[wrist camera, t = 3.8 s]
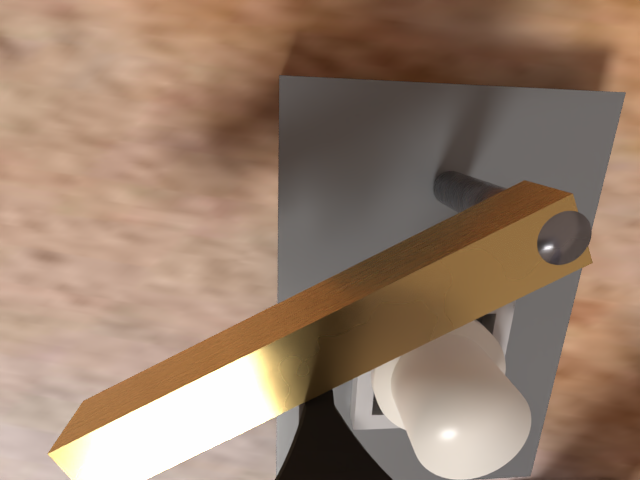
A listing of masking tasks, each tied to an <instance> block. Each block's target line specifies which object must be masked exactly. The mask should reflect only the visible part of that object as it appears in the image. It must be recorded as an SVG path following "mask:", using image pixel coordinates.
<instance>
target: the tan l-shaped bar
mask: <svg viewBox="0 0 640 480" xmlns="http://www.w3.org/2000/svg"><path fill="white" fill-rule="evenodd" d="M433 192H434V196H435V198H436V199H437V200H438V201H439V202H440V203H442V204H444V205H446V206H447V207H449V208H451V209H453V210H454V211H456V212H458V214H456V215H454V216H452V217H450V218H448V219H446V220H444V221H442V222H440V223H438V224H436V225H434V226H432V227H430V228H428V229H426V230H424V231H422V232H420V233H418V234H416V235H414V236H412V237H410V238H408V239H406V240H404V241H402V242H400V243H398V244H396V245H394V246H392V247H390V248H388V249H386V250H384V251H382V252H380V253H378V254H376V255H374V256H372V257H370V258H368V259H366V260H364V261H362V262H360V263H358V264H356V265H354V266H352V267H350V268H348V269H346V270H344V271H342V272H340V273H338V274H336V275H334V276H332V277H330V278H328V279H326V280H324V281H322V282H320V283H318V284H316V285H314V286H312V287H310V288H308V289H306V290H304V291H302V292H300V293H298V294H296V295H294V296H292V297H290V298H288V299H286V300H284V301H282V302H280V303H278V304H276V305H274V306H272V307H270V308H268V309H266V310H264V311H262V312H260V313H258V314H256V315H254V316H252V317H250V318H248V319H246V320H244V321H242V322H240V323H238V324H236V325H234V326H232V327H230V328H228V329H226V330H224V331H222V332H220V333H218V334H216V335H214V336H212V337H210V338H208V339H206V340H204V341H202V342H200V343H198V344H196V345H194V346H192V347H190V348H188V349H186V350H184V351H182V352H180V353H178V354H176V355H174V356H172V357H170V358H168V359H166V360H164V361H162V362H160V363H158V364H156V365H154V366H152V367H150V368H148V369H146V370H144V371H142V372H140V373H138V374H136V375H134V376H132V377H130V378H128V379H126V380H124V381H122V382H120V383H118V384H116V385H114V386H112V387H110V388H108V389H106V390H104V391H102V392H100V393H98V394H96V395H94V396H92V397H90V398H88V399H86V400H84V401H83V402H82V404H81V405H80V407H79V408H78V410H77V411H76V413H75V414H74V416H73V417H72V419H71V420H70V421H69V423H68V424H67V426H66V427H65V429H64V430H63V432H62V433H61V435H60V436H59V438H58V439H57V441H56V442H55V444H54V445H53V447H52V448H51V450H50V451H49V453H48V455H49V456H50V457H51V458H52V459H53V460H54V461H55V462H56V463H57V464H58V465H59V466H60V468H61V469H62V470H63V471H64V472H65V473H66V474H67V475H68V476H69V477H70V478H71V479H72V480H146V479H148V478H150V477H152V476H154V475H156V474H158V473H160V472H162V471H164V470H166V469H168V468H170V467H172V466H174V465H176V464H179V463H181V462H183V461H185V460H187V459H189V458H191V457H193V456H195V455H197V454H199V453H201V452H203V451H205V450H207V449H209V448H212V447H214V446H216V445H218V444H220V443H222V442H224V441H226V440H228V439H230V438H232V437H234V436H236V435H238V434H240V433H243V432H245V431H247V430H249V429H251V428H253V427H255V426H257V425H259V424H261V423H263V422H265V421H267V420H269V419H271V418H273V417H276V416H278V415H280V414H282V413H284V412H286V411H288V410H290V409H292V408H294V407H296V406H298V405H300V404H302V403H304V402H306V401H309V400H311V399H313V398H315V397H317V396H319V395H321V394H323V393H325V392H327V391H329V390H331V389H333V388H335V387H337V386H339V385H342V384H344V383H346V382H348V381H350V380H352V379H354V378H356V377H358V376H360V375H362V374H364V373H366V372H368V371H370V370H372V369H375V368H377V367H379V366H381V365H383V364H385V363H387V362H389V361H391V360H393V359H395V358H397V357H399V356H401V355H403V354H406V353H408V352H410V351H412V350H414V349H416V348H418V347H420V346H422V345H424V344H426V343H428V342H430V341H432V340H434V339H436V338H439V337H441V336H443V335H445V334H447V333H449V332H451V331H453V330H455V329H457V328H459V327H461V326H463V325H465V324H467V323H469V322H472V321H474V320H476V319H478V318H480V317H482V316H484V315H486V314H488V313H490V312H492V311H494V310H496V309H498V308H500V307H502V306H505V305H507V304H509V303H511V302H513V301H515V300H517V299H519V298H521V297H523V296H525V295H527V294H529V293H531V292H533V291H535V290H538V289H540V288H542V287H544V286H546V285H548V284H550V283H552V282H554V281H556V280H558V279H560V278H562V277H564V276H566V275H568V274H571V273H573V272H575V271H577V270H579V269H581V268H583V267H585V266H587V265H589V264H591V263H593V262H592V259H591V255H590V252H589V248H588V245H589V242H590V239H591V225H590V222H589V221H588V219H587V218H586V217H585V216H584V215H583V214H581V213H579V212H578V210H577V206H576V202H575V199H574V195H573V193H569V192H565V191H562V190H558V189H555V188H551V187H547V186H544V185H540V184H536V183H533V182H529V181H526V180H524V181H522V182H520V183H518V184H516V185H514V186H512V187H510V188H508V189H507V188H504V187H501V186H498V185H495V184H492V183H489V182H486V181H483V180H480V179H477V178H474V177H471V176H468V175H465V174H462V173H459V172H456V171H447V172H444V173H443V174H441V175H440V176H439V177H438V178H437V179H436V181H435V183H434V187H433Z"/></svg>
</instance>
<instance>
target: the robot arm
mask: <svg viewBox="0 0 640 480" xmlns="http://www.w3.org/2000/svg"><path fill="white" fill-rule="evenodd" d="M275 480H393V479H392V478H391V477H390V476H389V475H388V474H387V473H386V472H385V471H384V470H383V469H382V468H381V467H380V466H379V465H378V463H377V462H376V461H375V460H374V459H373V458H372V457H371V455H370V454H369V453H368V452H367V451H366V449H365V448H364V447H363V446H362V444H361V443H360V442H359V440H358V439H357V438H356V436H355V435H354V434H353V432H352V431H351V430H350V428H349V427H348V425H347V424H346V422H345V421H344V419H343V418H342V416H341V415H340V413H339V411H338V410H337V408H336V407H335V405H334V396H333V390H332V389H331V390H329V391H327V392H325V393H323V394H321V395H319V396H317V397H315V398H313V399H311V400H309V401H306V402H304V403H302V404H300V405H299V425H298V428H297V431H296V433H295V436H294V439H293V441H292V444H291V447H290V449H289V452H288V454H287V456H286V458H285V461H284V463H283V465H282V467H281V469H280V471H279V473H278V475H277V477H276V479H275Z"/></svg>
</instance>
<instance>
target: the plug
mask: <svg viewBox="0 0 640 480" xmlns="http://www.w3.org/2000/svg"><path fill="white" fill-rule="evenodd" d="M505 372H506V363H505V357H504V353H503V350H502V348H501V346H500V344H499V342H498V341H497V340H496V339H495V337H494V336H493V335H492V334H491V333H490V332H489V331H488V330H487V329H486V328H485V327H484V326H483V325H482V324H481V323H480V322H479V321H477V320H474V321H472V322H469V323H467V324H465V325H463V326H461V327H459V328H457V329H455V330H453V331H451V332H449V333H447V334H445V335H443V336H441V337H439V338H436V339H434V340H432V341H430V342H428V343H426V344H424V345H422V346H420V347H418V348H416V349H414V350H412V351H410V352H408V353H406V354H403V355H401V356H399V357H397V358H395V359H393V360H391V361H389V362H387V363H385V364H383V365H381V366H379V367H377V368H375V369H372V370H371V375H370V378H371V385H372V388H373V391H374V394H375V397H376V400H377V403H378V405H379V407H380V409H381V411H382V412H383V414H384V415H385V416H386V417H387V418H388V419H389V420H390V421H391V422H392V423H394V424H395V425H397V426H398V427H400V428H402V429H404V430H406V432H407V434H408V437H409V439H410V442H411V444H412V447H413V449H414V452H415V454H416V456H417V458H418V460H419V461H420V463H421V464H422V465H423V466H424V467H425V468H426V469H427V470H429V471H430V472H432V473H434V474H435V475H438V476H440V477H443V478H448V479H455V480H465V479H473V478H478V477H481V476H484V475H487V474H489V473H492V472H494V471H496V470H498V469H499V468H501V467H502V466H504V465H505V464H507V463H508V462H509V461H510V460H512V459H513V458H514V457H515V456H516V455H517V453H518V452H519V451H520V450H521V448H522V447H523V445H524V444H525V442H526V440H527V438H528V435H529V432H530V428H531V411H530V408H529V405H528V403H527V401H526V399H525V398H524V397H523V395H522V394H521V393H520V392H519V391H518V390H517V388H516V387H515V386H514V385H513V384H512V383H511V381H510V380H509V379H508V378H507V377H506V376H505Z"/></svg>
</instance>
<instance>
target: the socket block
mask: <svg viewBox="0 0 640 480" xmlns="http://www.w3.org/2000/svg"><path fill="white" fill-rule="evenodd" d="M624 97H625V92H605V91H585V90H565V89H545V88H525V87H504V86H484V85H464V84H444V83H424V82H404V81H384V80H364V79H344V78H324V77H303V76H283V75H279V184H278V303H280V302H282V301H284V300H286V299H288V298H290V297H292V296H294V295H296V294H298V293H300V292H302V291H304V290H306V289H308V288H310V287H312V286H314V285H316V284H318V283H320V282H322V281H324V280H326V279H328V278H330V277H332V276H334V275H336V274H338V273H340V272H342V271H344V270H346V269H348V268H350V267H352V266H354V265H356V264H358V263H360V262H362V261H364V260H366V259H368V258H370V257H372V256H374V255H376V254H378V253H380V252H382V251H384V250H386V249H388V248H390V247H392V246H394V245H396V244H398V243H400V242H402V241H404V240H406V239H408V238H410V237H412V236H414V235H416V234H418V233H420V232H422V231H424V230H426V229H428V228H430V227H432V226H434V225H436V224H438V223H440V222H442V221H444V220H446V219H448V218H450V217H452V216H454V215H456V214H458V212H456V211H454V210H453V209H451V208H449V207H447V206H446V205H444V204H442V203H440V202H439V201H438V200H437V199H436V198H435V196H434V192H433V187H434V183H435V181H436V179H437V178H438V177H439V176H440V175H441V174H443V173H444V172H447V171H456V172H459V173H462V174H465V175H468V176H471V177H474V178H477V179H480V180H483V181H486V182H489V183H492V184H495V185H498V186H501V187H504V188H507V189H508V188H510V187H512V186H514V185H516V184H518V183H520V182H522V181H524V180H526V181H529V182H533V183H536V184H540V185H544V186H547V187H551V188H555V189H558V190H562V191H565V192H569V193H573V195H574V199H575V202H576V206H577V210H578V212H579V213H581V214H583V215H584V216H585V217H586V218H587V219H588V221H589V222H590V225H591V230H592V226H593V222H594V218H595V214H596V210H597V206H598V202H599V198H600V194H601V190H602V186H603V182H604V178H605V174H606V170H607V166H608V162H609V158H610V154H611V150H612V146H613V142H614V138H615V134H616V130H617V126H618V122H619V118H620V114H621V110H622V106H623V102H624ZM581 271H582V268H581V269H579V270H577V271H575V272H573V273H571V274H568V275H566V276H564V277H562V278H560V279H558V280H556V281H554V282H552V283H550V284H548V285H546V286H544V287H542V288H540V289H538V290H535V291H533V292H531V293H529V294H527V295H525V296H523V297H521V298H519V299H517V300H515V301H513V302H511V303H509V304H507V305H505V306H502V307H500V308H498V309H496V310H494V311H492V312H490V313H488V314H486V315H484V316H482V317H480V318H478V319H476V320H477V321H479V322H480V323H481V324H482V325H483V326H484V327H485V328H486V329H487V330H488V331H489V332H490V333H491V334H492V335H493V336H494V337H495V339H496V340H497V341H498V342H499V344H500V346H501V348H502V350H503V353H504V357H505V363H506V372H505V376H506V377H507V378H508V379H509V380H510V381H511V383H512V384H513V385H514V386H515V387H516V388H517V390H518V391H519V392H520V393H521V394H522V395H523V397H524V398H525V399H526V401H527V403H528V405H529V408H530V411H531V428H530V432H529V435H528V438H527V440H526V442H525V444H524V445H523V447H522V448H521V450H520V451H519V452H518V453H517V455H516V456H515V457H514V458H513V459H512V460H510V461H509V462H508V463H507V464H505V465H504V466H502V467H501V468H499V469H498V470H496V471H494V472H492V473H489V474H487V475H484V476H481V477H478V478H473V479H465V480H475V479H492V478H510V477H527V476H531V472H532V468H533V464H534V460H535V456H536V452H537V448H538V444H539V440H540V436H541V432H542V428H543V424H544V420H545V416H546V412H547V408H548V404H549V400H550V396H551V392H552V387H553V383H554V379H555V375H556V371H557V367H558V363H559V359H560V355H561V351H562V347H563V343H564V339H565V335H566V331H567V327H568V323H569V319H570V315H571V311H572V307H573V303H574V299H575V295H576V291H577V287H578V283H579V279H580V275H581ZM370 375H371V370H370V371H368V372H366V373H364V374H362V375H360V376H358V377H356V378H354V379H352V380H350V381H348V382H346V383H344V384H342V385H339V386H337V387H335V388H333V389H332V390H333V396H334V405H335V407H336V408H337V410H338V411H339V413H340V415H341V416H342V418H343V419H344V421H345V422H346V424H347V425H348V427H349V428H350V430H351V431H352V432H353V434H354V435H355V436H356V438H357V439H358V440H359V442H360V443H361V444H362V446H363V447H364V448H365V449H366V451H367V452H368V453H369V454H370V455H371V457H372V458H373V459H374V460H375V461H376V462H377V463H378V465H379V466H380V467H381V468H382V469H383V470H384V471H385V472H386V473H387V474H388V475H389V476H390V477H391V478H392V479H393V480H455V479H448V478H443V477H440V476H438V475H435V474H434V473H432V472H430V471H429V470H427V469H426V468H425V467H424V466H423V465H422V464H421V463H420V461H419V460H418V458H417V456H416V454H415V452H414V449H413V447H412V444H411V442H410V439H409V437H408V434H407V432H406V430H404V429H402V428H400V427H398V426H397V425H395V424H394V423H392V422H391V421H390V420H389V419H388V418H387V417H386V416H385V415H384V414H383V412H382V411H381V409H380V407H379V405H378V403H377V400H376V397H375V394H374V391H373V388H372V385H371V378H370ZM298 425H299V405H298V406H296V407H294V408H292V409H290V410H288V411H286V412H284V413H282V414H280V415H278V416H277V440H276V477H277V475H278V473H279V471H280V469H281V467H282V465H283V463H284V461H285V458H286V456H287V454H288V452H289V449H290V447H291V444H292V441H293V439H294V436H295V433H296V431H297V428H298Z"/></svg>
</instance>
